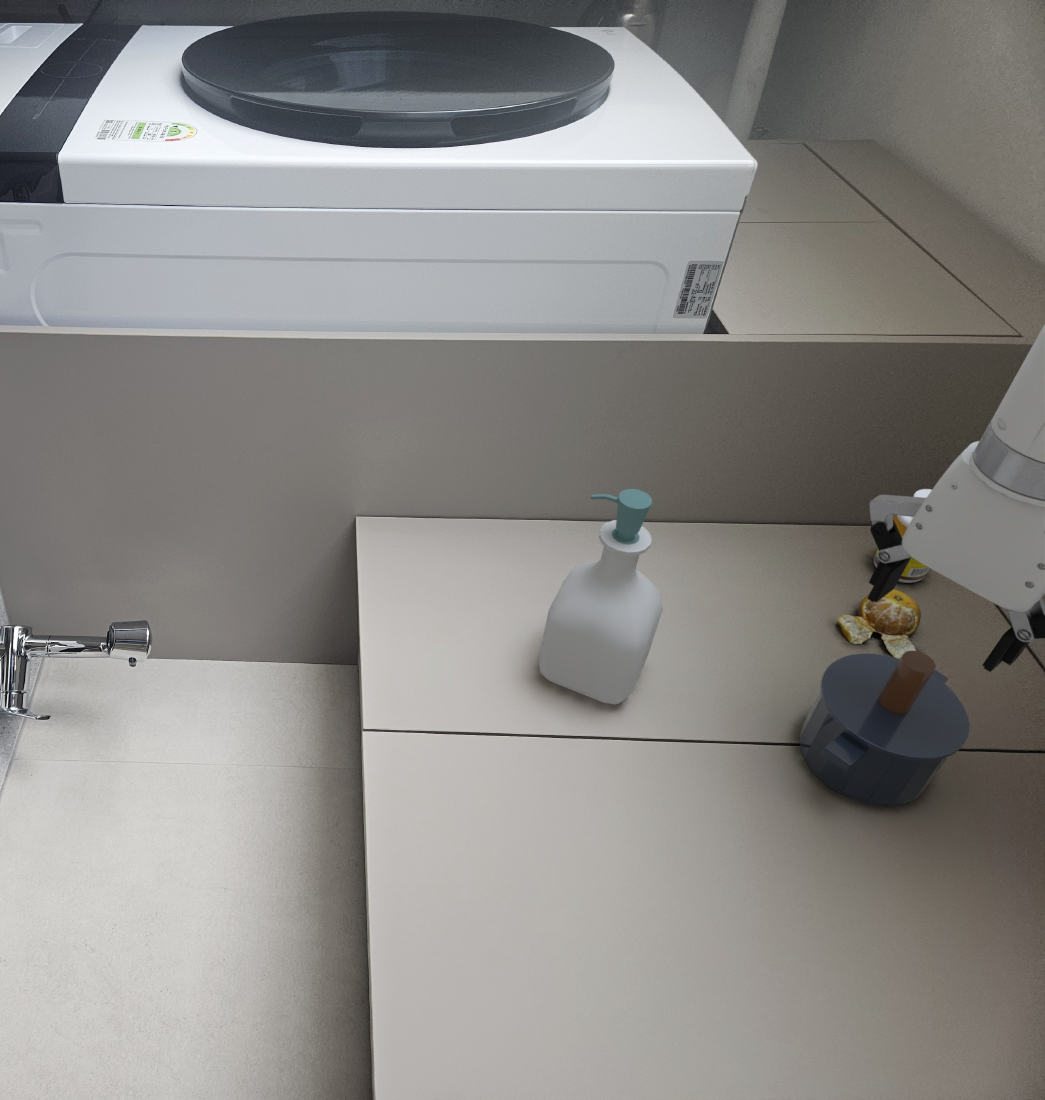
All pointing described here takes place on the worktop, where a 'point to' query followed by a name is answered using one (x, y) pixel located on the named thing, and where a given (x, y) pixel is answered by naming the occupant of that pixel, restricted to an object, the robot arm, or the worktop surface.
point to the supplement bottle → (913, 568)
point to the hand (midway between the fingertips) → (935, 627)
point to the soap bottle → (605, 611)
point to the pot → (861, 762)
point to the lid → (895, 705)
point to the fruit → (884, 622)
